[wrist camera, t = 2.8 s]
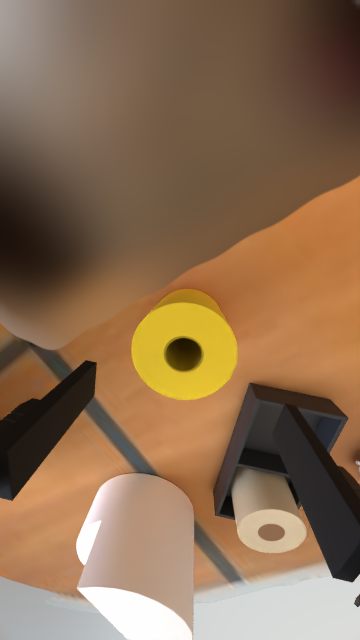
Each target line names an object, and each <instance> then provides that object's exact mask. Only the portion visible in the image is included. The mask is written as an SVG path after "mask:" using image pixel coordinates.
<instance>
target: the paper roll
mask: <svg viewBox="0 0 360 640" xmlns="http://www.w3.org/2000/svg"><path fill="white" fill-rule="evenodd" d="M230 488H231V494H232V501H233V507H234V514H235V520H236V527H237V533H238V536H239V538H240V540H241V541H242V542H243V543H244V544H245V545H246V546H248V547H249V548H251V549H253V550H256V551H259V552H264V553H282V552H287V551H290V550H292V549H294V548H296V547H298V546H299V545H300V544H301V543H302V542H303V541H304V539H305V537H306V527H305V524H304V522H303V519H302V517H301V515H300V512H299V510H298V507H297V505H296V503H295V500H294V498H293V495H292V493H291V491H290V488H289V486H288V483H287V481H286V479H285V476H280V475H275V474H271V473H266V472H261V471H257V470H252V469H247V468H243V467H238V466H237V467H236V469H235V472H234V475H233V478H232V480H231V483H230Z"/></svg>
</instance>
